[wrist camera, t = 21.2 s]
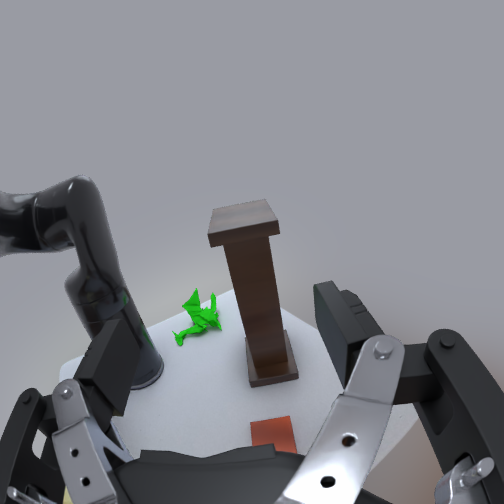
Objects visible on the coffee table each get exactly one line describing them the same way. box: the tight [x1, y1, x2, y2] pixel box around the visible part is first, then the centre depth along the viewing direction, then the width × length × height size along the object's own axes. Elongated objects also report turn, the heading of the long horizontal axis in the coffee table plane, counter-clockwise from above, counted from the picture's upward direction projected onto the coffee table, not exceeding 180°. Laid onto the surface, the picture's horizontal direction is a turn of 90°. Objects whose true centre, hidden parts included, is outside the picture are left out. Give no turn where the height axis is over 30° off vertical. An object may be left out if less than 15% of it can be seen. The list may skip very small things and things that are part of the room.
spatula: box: [250, 416, 297, 453], centre depth 21 cm, size 18×5×1 cm, turn 4°
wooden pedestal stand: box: [208, 199, 299, 387], centre depth 36 cm, size 10×7×24 cm
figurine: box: [172, 288, 221, 346], centre depth 51 cm, size 6×12×9 cm
